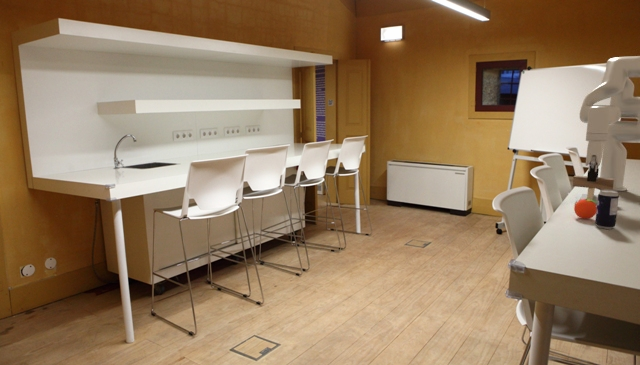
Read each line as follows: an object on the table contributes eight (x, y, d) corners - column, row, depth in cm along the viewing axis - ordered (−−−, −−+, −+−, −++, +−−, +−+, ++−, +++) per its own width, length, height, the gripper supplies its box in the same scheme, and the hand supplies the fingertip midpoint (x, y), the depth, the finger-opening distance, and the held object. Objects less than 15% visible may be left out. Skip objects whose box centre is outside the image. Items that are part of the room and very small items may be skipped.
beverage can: (609, 225, 153) (613, 189, 151) (618, 229, 147) (623, 193, 145) (591, 224, 154) (595, 189, 151) (600, 229, 148) (604, 192, 146)
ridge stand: (582, 196, 200) (583, 182, 199) (601, 197, 196) (602, 184, 195) (578, 203, 185) (579, 188, 184) (598, 205, 181) (600, 190, 180)
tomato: (599, 218, 162) (602, 198, 161) (598, 222, 156) (601, 202, 155) (574, 215, 166) (576, 195, 165) (572, 219, 160) (574, 199, 159)
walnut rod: (573, 184, 193) (574, 175, 192) (613, 188, 185) (614, 178, 185) (572, 186, 190) (573, 176, 189) (612, 189, 182) (613, 179, 181)
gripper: (587, 135, 193) (583, 175, 196) (584, 138, 179) (579, 182, 182) (608, 136, 189) (604, 177, 192) (606, 139, 175) (602, 183, 178)
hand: (592, 179), depth 187 cm, fingers open, 9 cm apart
